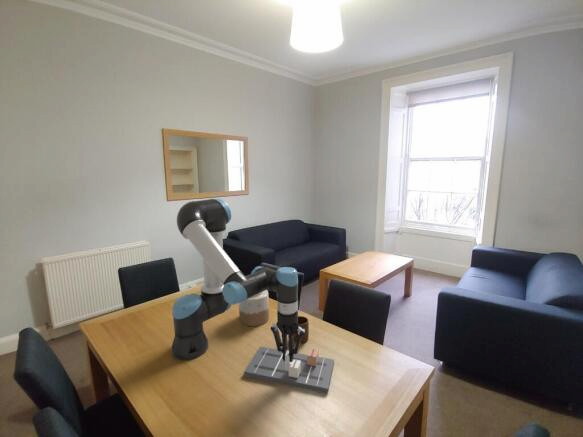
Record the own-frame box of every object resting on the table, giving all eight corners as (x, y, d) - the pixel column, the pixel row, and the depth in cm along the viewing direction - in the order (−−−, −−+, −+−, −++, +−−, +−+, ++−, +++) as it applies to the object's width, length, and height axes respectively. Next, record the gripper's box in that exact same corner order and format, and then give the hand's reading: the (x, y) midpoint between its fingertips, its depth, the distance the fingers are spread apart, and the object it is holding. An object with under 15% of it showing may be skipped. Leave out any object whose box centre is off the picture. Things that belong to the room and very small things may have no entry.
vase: (274, 316, 155) (274, 286, 152) (256, 329, 142) (255, 298, 139) (252, 308, 163) (251, 280, 160) (233, 321, 151) (231, 290, 147)
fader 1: (288, 376, 108) (288, 366, 107) (291, 368, 112) (291, 358, 112) (298, 378, 107) (298, 367, 106) (300, 370, 111) (300, 360, 111)
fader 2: (307, 364, 114) (307, 355, 114) (309, 357, 118) (309, 348, 118) (316, 366, 113) (316, 356, 113) (318, 359, 118) (318, 349, 117)
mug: (298, 351, 126) (298, 331, 125) (283, 345, 130) (283, 326, 128) (311, 337, 136) (311, 318, 134) (297, 332, 140) (297, 314, 138)
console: (244, 376, 112) (244, 371, 111) (260, 350, 127) (260, 346, 126) (327, 393, 103) (327, 388, 102) (334, 364, 118) (334, 359, 118)
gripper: (267, 312, 104) (268, 371, 108) (302, 317, 100) (302, 378, 105) (274, 303, 111) (275, 358, 115) (307, 307, 107) (307, 364, 112)
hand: (288, 368), depth 110 cm, fingers closed
